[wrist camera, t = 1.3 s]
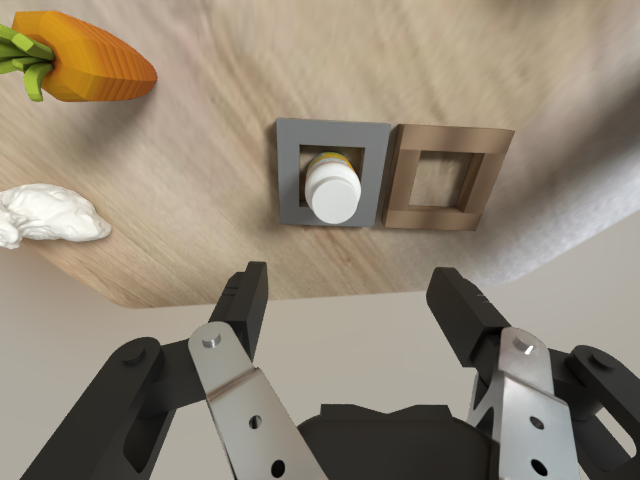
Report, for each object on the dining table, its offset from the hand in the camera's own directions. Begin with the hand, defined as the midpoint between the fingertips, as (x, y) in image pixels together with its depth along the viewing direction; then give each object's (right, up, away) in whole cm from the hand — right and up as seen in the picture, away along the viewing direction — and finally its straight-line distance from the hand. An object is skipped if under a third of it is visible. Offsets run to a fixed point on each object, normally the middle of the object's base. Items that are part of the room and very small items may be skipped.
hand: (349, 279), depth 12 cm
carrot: (-18, +18, +13) cm, 28 cm away
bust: (-32, +7, +19) cm, 38 cm away
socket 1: (0, +10, +18) cm, 20 cm away
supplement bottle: (0, +10, +18) cm, 20 cm away
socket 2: (+13, +9, +18) cm, 24 cm away
